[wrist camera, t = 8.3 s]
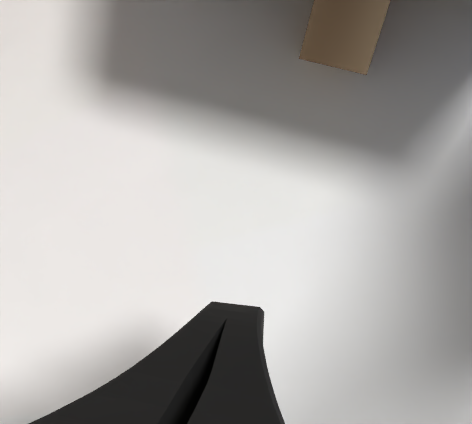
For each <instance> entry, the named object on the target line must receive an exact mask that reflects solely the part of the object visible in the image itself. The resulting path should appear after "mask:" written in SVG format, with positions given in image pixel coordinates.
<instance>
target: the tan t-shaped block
mask: <svg viewBox="0 0 472 424" xmlns="http://www.w3.org/2000/svg"><path fill="white" fill-rule="evenodd" d="M390 1H391V0H314V3H313V6H312V10H311V14H310V18H309V22H308V25H307V29H306V33H305V37H304V41H303V45H302V48H301V52H300V56H299V59H303V60H307V61H311V62H315V63H319V64H323V65H327V66H331V67H336V68H340V69H344V70H348V71H352V72H356V73H360V74H364V75H367V72H368V69H369V66H370V63H371V60H372V57H373V53H374V50H375V47H376V44H377V41H378V38H379V35H380V32H381V29H382V26H383V22H384V19H385V16H386V13H387V10H388V7H389V4H390Z"/></svg>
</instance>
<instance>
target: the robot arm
mask: <svg viewBox="0 0 472 424" xmlns="http://www.w3.org/2000/svg"><path fill="white" fill-rule="evenodd" d="M263 327H264V311H263V310H262V309H261V308H260V307H255V306H246V305H237V304H229V303H220V302H211V303H210V304H208V305H207V306H206V307H205V308H204V309H203V310H201V311H200V312H199V313H198V314H197V315H196V316H195V317H194V318H192V319H191V320H190V321H189V322H188V323H187V324H186V325H184V326H183V327H182V328H181V329H180V330H179V331H178V332H176V333H175V334H174V335H173V336H172V337H170V338H169V339H168V340H167V341H166V342H164V343H163V344H162V345H161V346H159V347H158V348H157V349H156V350H154V351H153V352H152V353H150V354H149V355H148V356H146V357H145V358H144V359H142V360H141V361H140V362H138V363H137V364H135V365H134V366H133V367H131V368H130V369H128V370H127V371H125V372H124V373H122V374H121V375H119V376H118V377H116V378H115V379H113V380H111V381H110V382H108V383H106V384H105V385H103V386H101V387H100V388H98V389H96V390H95V391H93V392H91V393H89V394H87V395H86V396H84V397H82V398H80V399H78V400H76V401H74V402H72V403H70V404H68V405H66V406H64V407H62V408H60V409H58V410H56V411H55V412H53V413H51V414H49V415H46V416H44V417H42V418H40V419H38V420H35V421H33V422H31V423H29V424H285V423H284V420H283V417H282V415H281V412H280V409H279V406H278V403H277V400H276V397H275V394H274V391H273V387H272V384H271V380H270V377H269V373H268V369H267V364H266V359H265V354H264V349H263Z"/></svg>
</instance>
